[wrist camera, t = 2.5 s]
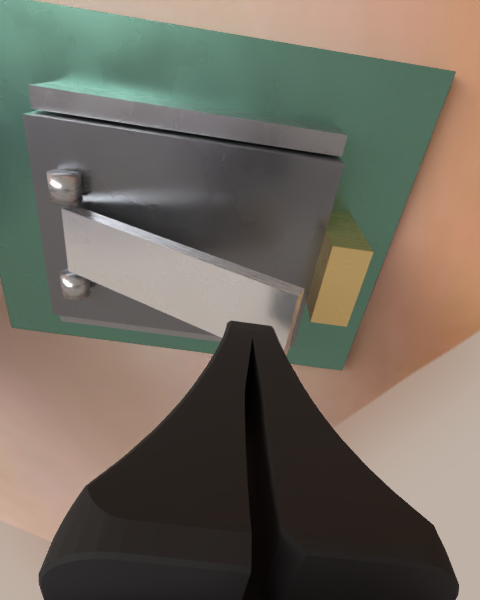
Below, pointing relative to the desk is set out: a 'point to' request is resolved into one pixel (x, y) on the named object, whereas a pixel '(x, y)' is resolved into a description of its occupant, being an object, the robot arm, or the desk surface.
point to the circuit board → (202, 166)
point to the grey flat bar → (176, 276)
